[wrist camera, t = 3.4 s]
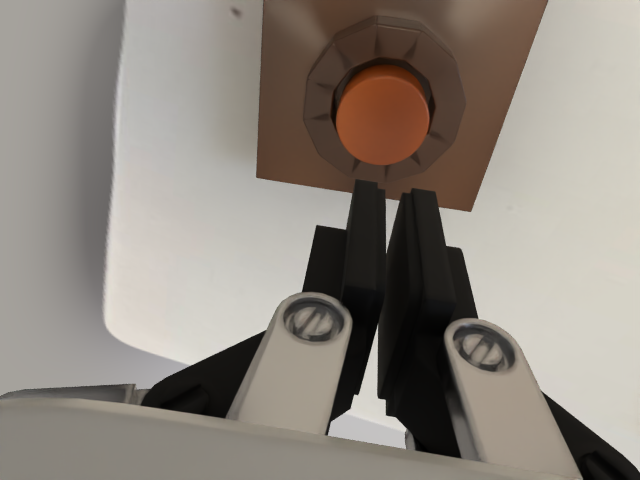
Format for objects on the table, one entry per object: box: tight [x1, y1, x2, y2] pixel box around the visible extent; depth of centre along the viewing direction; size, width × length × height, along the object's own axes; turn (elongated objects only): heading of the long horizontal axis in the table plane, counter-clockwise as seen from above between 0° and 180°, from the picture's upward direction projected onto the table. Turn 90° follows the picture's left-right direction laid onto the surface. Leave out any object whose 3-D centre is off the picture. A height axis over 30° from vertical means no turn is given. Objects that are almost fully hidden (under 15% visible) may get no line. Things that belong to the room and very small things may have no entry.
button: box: [336, 64, 430, 165], centre depth 19 cm, size 4×4×2 cm
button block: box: [256, 0, 548, 212], centre depth 21 cm, size 11×10×4 cm
